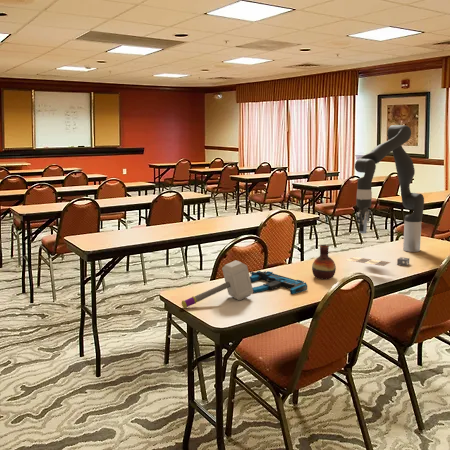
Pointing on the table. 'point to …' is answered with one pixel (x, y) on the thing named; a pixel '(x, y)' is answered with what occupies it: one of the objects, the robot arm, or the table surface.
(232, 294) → the hammer
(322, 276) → the vase
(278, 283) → the submachine gun
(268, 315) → the table surface
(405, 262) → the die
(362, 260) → the board
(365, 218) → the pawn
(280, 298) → the table surface
